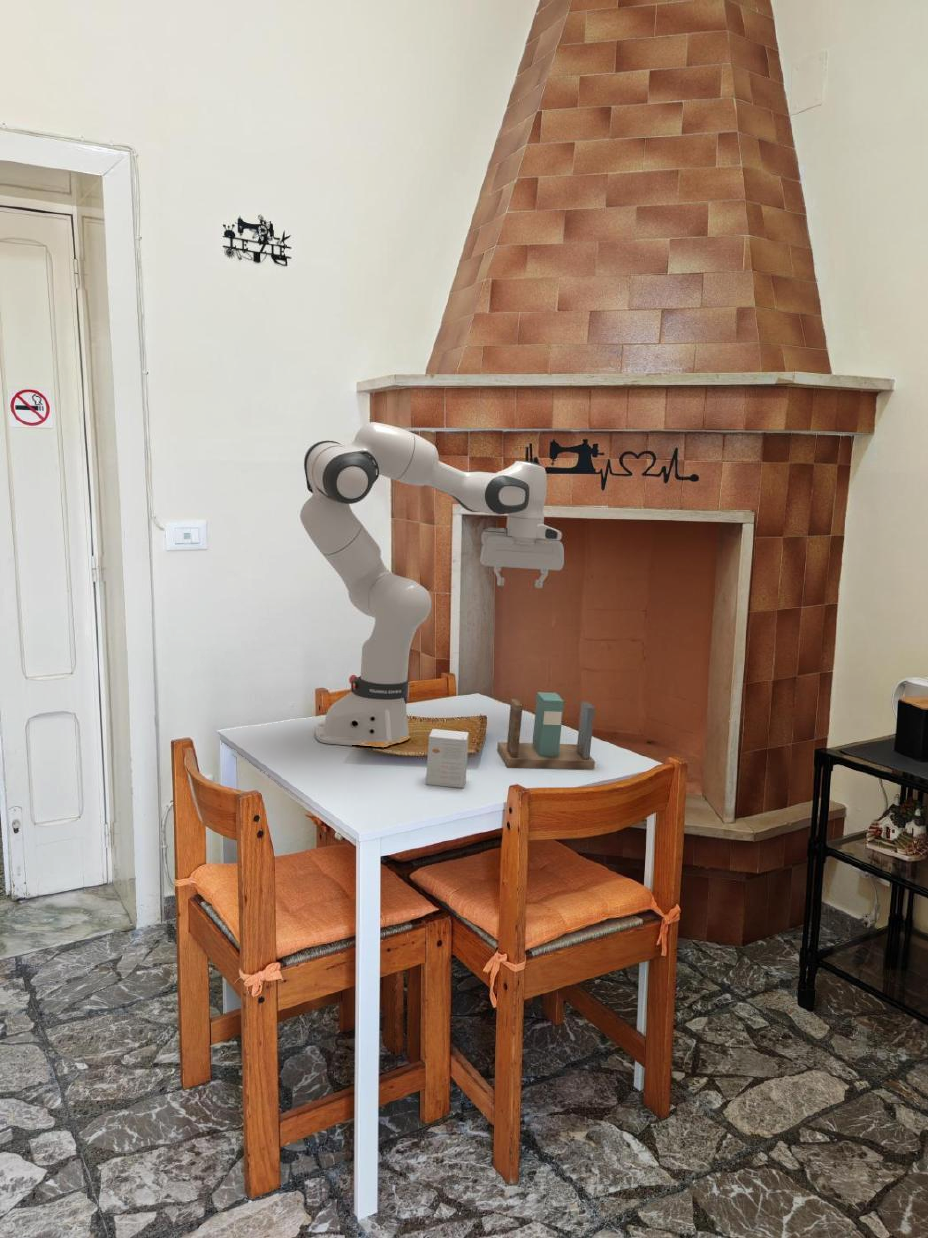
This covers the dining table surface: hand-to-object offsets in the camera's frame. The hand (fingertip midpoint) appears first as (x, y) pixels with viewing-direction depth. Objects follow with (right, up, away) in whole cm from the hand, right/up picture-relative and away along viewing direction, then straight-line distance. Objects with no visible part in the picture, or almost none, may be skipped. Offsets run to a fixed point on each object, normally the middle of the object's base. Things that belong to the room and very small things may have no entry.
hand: (519, 586), depth 225 cm
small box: (-17, -42, -32) cm, 56 cm away
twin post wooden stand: (+5, -40, -12) cm, 42 cm away
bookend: (+14, -39, -14) cm, 44 cm away
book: (+5, -38, -13) cm, 41 cm away
